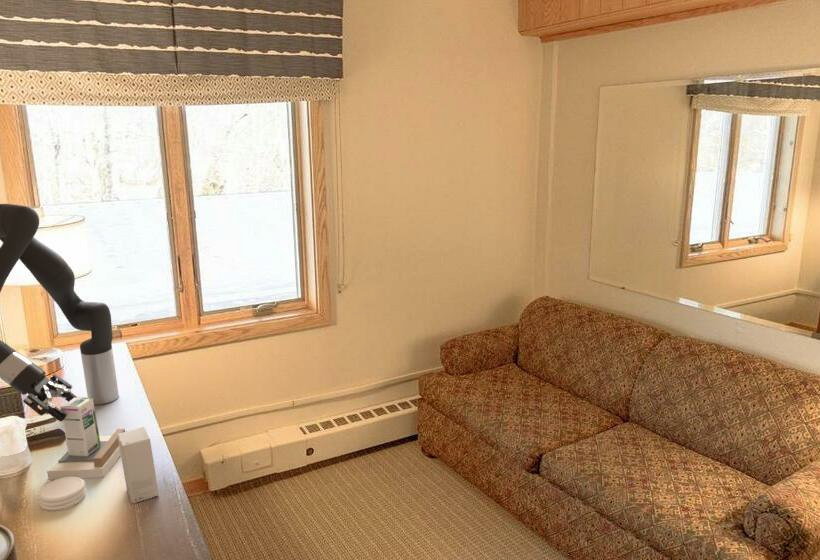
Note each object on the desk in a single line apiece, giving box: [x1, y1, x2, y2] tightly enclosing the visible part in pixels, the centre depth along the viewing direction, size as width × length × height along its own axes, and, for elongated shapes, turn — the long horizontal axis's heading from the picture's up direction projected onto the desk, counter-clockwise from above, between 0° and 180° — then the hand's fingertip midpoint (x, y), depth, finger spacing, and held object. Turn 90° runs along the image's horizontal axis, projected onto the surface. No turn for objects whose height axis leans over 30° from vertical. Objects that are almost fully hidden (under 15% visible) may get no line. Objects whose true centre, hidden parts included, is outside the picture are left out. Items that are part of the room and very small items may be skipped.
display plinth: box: [46, 428, 126, 481], centre depth 172 cm, size 18×14×5 cm
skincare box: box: [117, 426, 160, 504], centre depth 155 cm, size 8×7×16 cm
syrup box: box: [59, 396, 101, 457], centre depth 169 cm, size 6×6×14 cm
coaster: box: [38, 477, 87, 512], centre depth 154 cm, size 10×10×4 cm
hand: (72, 411), depth 168 cm, fingers open, 8 cm apart
